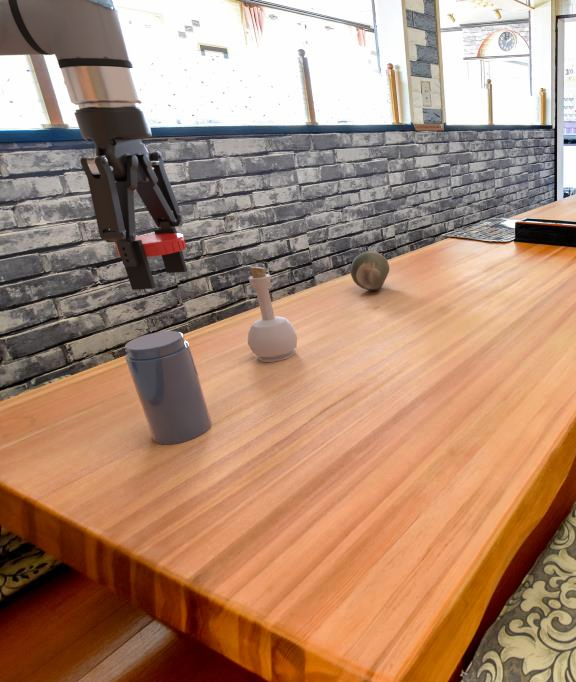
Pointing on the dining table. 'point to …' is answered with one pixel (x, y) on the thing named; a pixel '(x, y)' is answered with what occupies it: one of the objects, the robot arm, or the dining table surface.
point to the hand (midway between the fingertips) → (161, 279)
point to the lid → (160, 244)
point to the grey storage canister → (168, 386)
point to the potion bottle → (269, 325)
